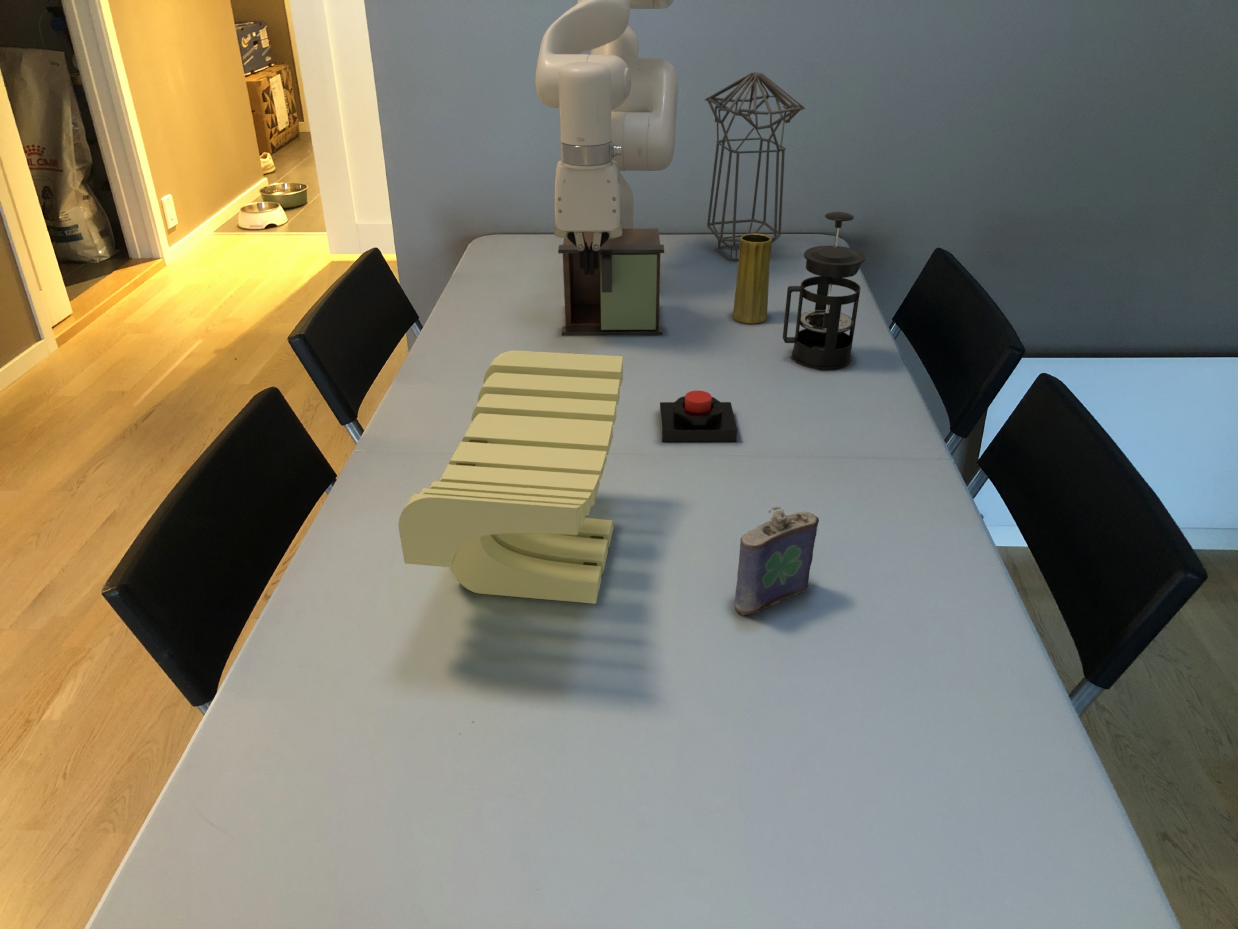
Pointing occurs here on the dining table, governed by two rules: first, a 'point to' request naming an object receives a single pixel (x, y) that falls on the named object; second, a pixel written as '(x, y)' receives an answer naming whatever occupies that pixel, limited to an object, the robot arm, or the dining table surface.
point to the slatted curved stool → (525, 482)
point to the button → (698, 401)
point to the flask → (775, 560)
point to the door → (628, 291)
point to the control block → (697, 423)
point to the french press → (825, 322)
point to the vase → (752, 279)
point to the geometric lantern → (760, 79)
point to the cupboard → (586, 290)
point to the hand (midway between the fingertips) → (589, 272)
